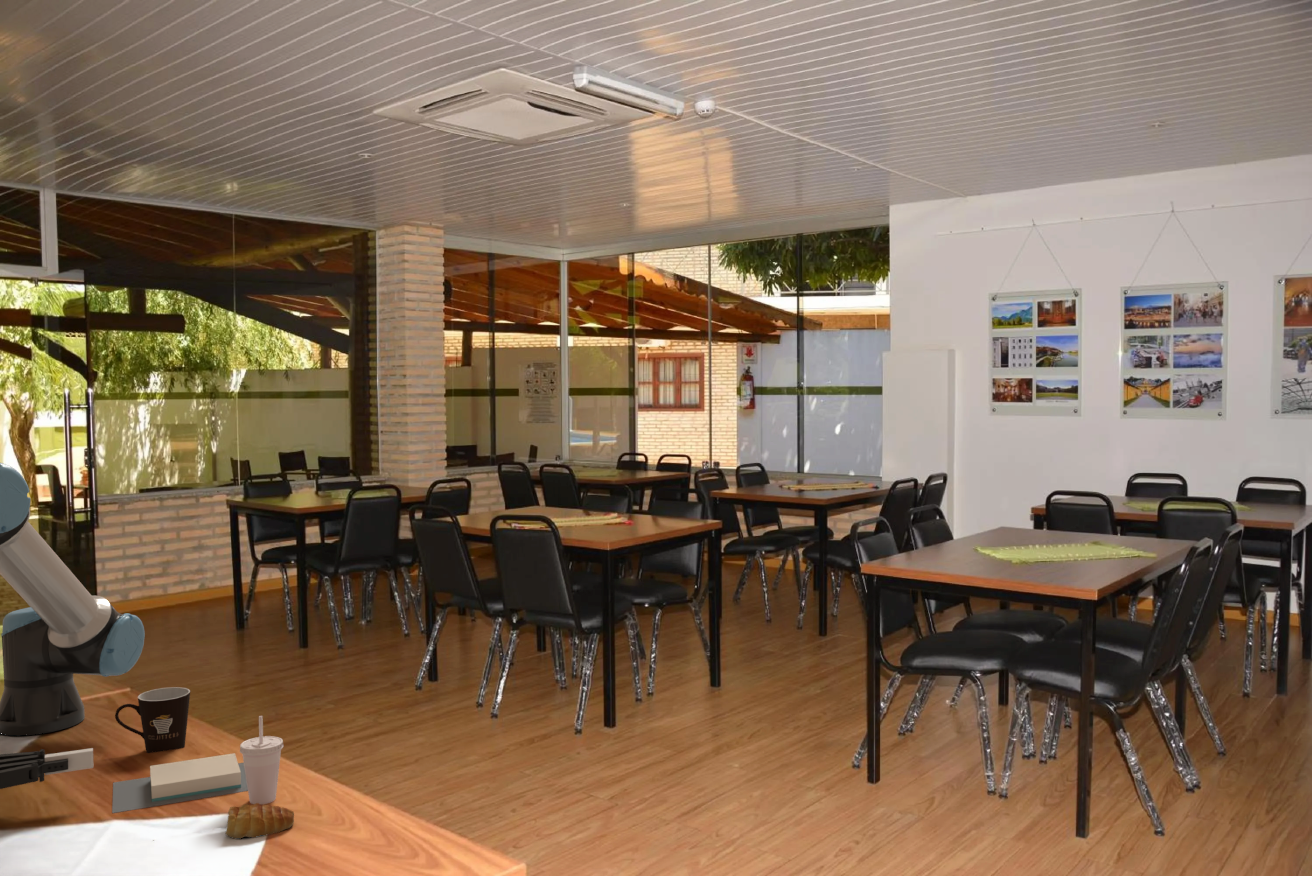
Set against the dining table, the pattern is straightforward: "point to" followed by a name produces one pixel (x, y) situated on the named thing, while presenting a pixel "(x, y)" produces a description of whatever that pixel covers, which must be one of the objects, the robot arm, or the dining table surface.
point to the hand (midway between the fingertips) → (92, 758)
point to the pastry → (257, 820)
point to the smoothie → (262, 766)
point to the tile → (194, 777)
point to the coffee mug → (161, 718)
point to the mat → (139, 797)
